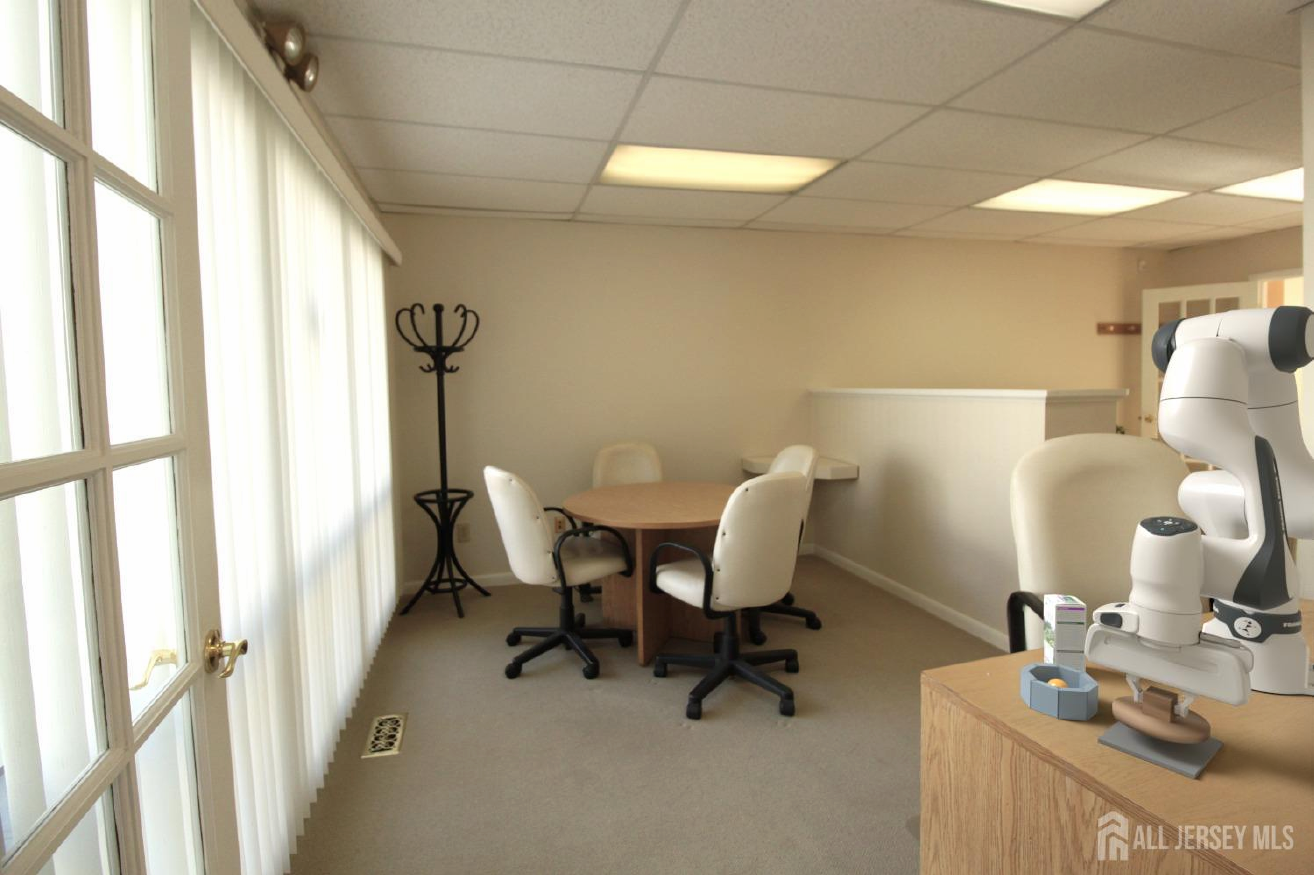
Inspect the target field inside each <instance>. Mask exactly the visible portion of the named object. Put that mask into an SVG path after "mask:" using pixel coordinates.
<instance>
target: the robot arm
mask: <svg viewBox="0 0 1314 875" xmlns="http://www.w3.org/2000/svg"><path fill="white" fill-rule="evenodd" d="M1151 358H1152V361H1153V364H1154V366H1155V367H1156V368H1157V369H1158V370H1159V371H1160V372H1161V373H1163V374H1164V377H1163V381H1162V385H1161V386H1162V387H1161V390H1160V397H1159V403H1158V411H1157V412H1158V415H1157V425H1158V426H1157V427H1158V432H1159V435H1160V436H1161V437H1162V439H1163V440H1164V442H1166V444H1167V445H1168V446H1169V447H1171V448H1172V449H1173V450H1174V451H1176V452H1178V453H1180V454H1182V455H1185V456H1187V457H1188V458H1191V459H1194V460H1196V461H1200V462H1202V463H1205V464H1208V465H1211V466H1213V467H1216V468H1218V469H1219V470H1218V469H1216V470H1201V471H1193V472H1191V473H1190V474H1189V475H1187V476H1186V477H1185V478H1184V479H1183V480H1182V482H1181V483H1180V485H1179V487H1178V490H1177V501H1178V504H1179V507H1180V509H1181V511H1182V512H1183V513H1184V514H1185V515H1186V517H1188V518H1189V519H1191V520H1189V519H1187V518H1183V517H1178V516H1170V515H1169V516H1167V515H1166V516H1165V515H1163V516H1162V515H1161V516H1152V517H1147V518H1144V519H1142V520H1141V521H1139V522H1138V524H1137V525H1136V526H1137V527H1136V530H1135V533H1134V538H1133V542H1132V547H1131V554H1130V567H1129V573H1130V577H1131V580H1132V588H1131V591H1130V592H1129V593H1130V594H1129V596H1128V602H1111V603H1107V604H1103V605H1102V606H1100V607H1098V608H1097V609H1095V610H1094V611H1093V612H1092V620H1093V623H1092V624H1091V625H1090V626H1089V628H1088V629H1087V631H1086V642H1085V656H1086V660H1088V662H1089V663H1091V664H1095V665H1098V666H1101V667H1104V668H1108V669H1111V670H1114V671H1118V672H1121V673H1124V674H1125V675H1126V676H1125V680H1126V682H1127V684H1128V685H1129V687H1130V688H1131V690H1132V692H1133V696H1134V702H1136V703H1140V704H1143V692H1144V691H1145V690H1144V688H1143V687H1142V685H1141V682H1140V681H1139V680H1140V679H1144V680H1148V681H1150V682H1154V683H1157V684H1160V685H1165V686H1166V687H1167V686H1168V687H1171V688H1173V689H1174V688H1175V689H1177V690H1181V691H1182V694H1181V695H1182V697H1183V698H1186V699H1185V700H1184V701H1179V700H1178V701H1176V702H1175V703H1174V704H1173V711H1172V714H1173V715H1176V716H1179V717H1182V718H1186V717H1187V715H1188V709H1189V705H1191V704H1192V702H1194V701H1195V700H1196V699H1197V698H1198V697H1199V696H1201V697H1204V698H1207V699H1211V700H1214V701H1217V702H1221V703H1223V704H1227V705H1230V706H1234V707H1241V706H1243V705H1245V704H1247V703H1248V702H1249V700H1250V699H1251V696H1252V690H1255V691H1259V692H1266V693H1271V694H1272V693H1273V694H1279V695H1280V694H1281V695H1308V696H1314V661H1312V660H1311V661H1310V652H1311V651H1310V650H1311V649H1310V646H1308V645H1307V640H1306V639H1305V638H1304V635H1303V634H1302V632H1301V631H1302V627H1303V626H1302V624H1303V617H1302V612H1301V610H1300V609H1299V604H1300V602H1299V601H1300V586H1301V572H1300V570H1299V569H1298V567H1297V566H1296V564H1295V561H1294V559H1293V556H1292V553H1291V547H1290V542H1289V538H1292V539H1297V540H1306V541H1307V540H1309V541H1310V540H1311V541H1314V458H1313V456H1312V455H1311V454H1310V452H1309V450H1308V447H1307V445H1306V444H1305V441H1304V436H1303V433H1302V432H1303V431H1302V426H1301V418H1300V417H1301V416H1300V408H1299V406H1300V405H1299V394H1298V393H1299V392H1298V386H1297V379H1296V374H1295V373H1296V372H1297V370H1299V369H1300V368H1304V367H1306V366H1308V365H1309V364H1310V363H1312V362H1313V361H1314V311H1313V310H1311V309H1310V308H1309V307H1307V306H1302V305H1300V306H1299V305H1279V306H1278V307H1261V308H1257V307H1255V308H1243V309H1242V308H1241V309H1240V308H1239V309H1231V310H1228V311H1224V312H1217V313H1210V314H1204V315H1200V316H1195V317H1192V318H1187V317H1182V318H1177V319H1175V320H1174V319H1173V320H1171V321H1168V322H1165V323H1164V324H1162V325H1161V326H1160V328H1158V329H1157V330H1156V332H1155V333H1154V334H1153V337H1152V340H1151ZM1201 530H1202V531H1203V534H1202V532H1201ZM1201 597H1206V598H1212V599H1214V602H1213V603H1212V605H1213V607H1212V609H1213V617H1214V618H1212V619H1211V620H1209V621H1206V622H1205V623H1203V605H1202V602H1201V599H1200V598H1201ZM1202 623H1203V625H1202Z"/></svg>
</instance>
